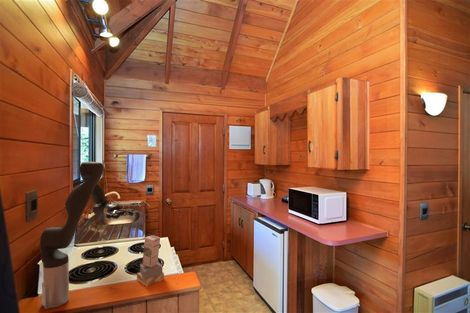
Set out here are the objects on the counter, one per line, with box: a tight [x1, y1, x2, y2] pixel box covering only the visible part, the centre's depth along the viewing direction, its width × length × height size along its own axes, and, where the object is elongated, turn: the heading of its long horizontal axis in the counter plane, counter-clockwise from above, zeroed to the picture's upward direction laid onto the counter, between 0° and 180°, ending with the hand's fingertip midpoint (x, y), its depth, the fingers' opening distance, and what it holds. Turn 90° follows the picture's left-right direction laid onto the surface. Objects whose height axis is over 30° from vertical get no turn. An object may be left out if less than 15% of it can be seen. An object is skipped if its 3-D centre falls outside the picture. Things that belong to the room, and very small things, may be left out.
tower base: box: [136, 271, 165, 287], centre depth 129 cm, size 10×10×4 cm
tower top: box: [139, 261, 164, 280], centre depth 129 cm, size 9×9×4 cm
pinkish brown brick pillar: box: [141, 235, 161, 268], centre depth 129 cm, size 6×6×14 cm
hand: (125, 215), depth 137 cm, fingers open, 8 cm apart
